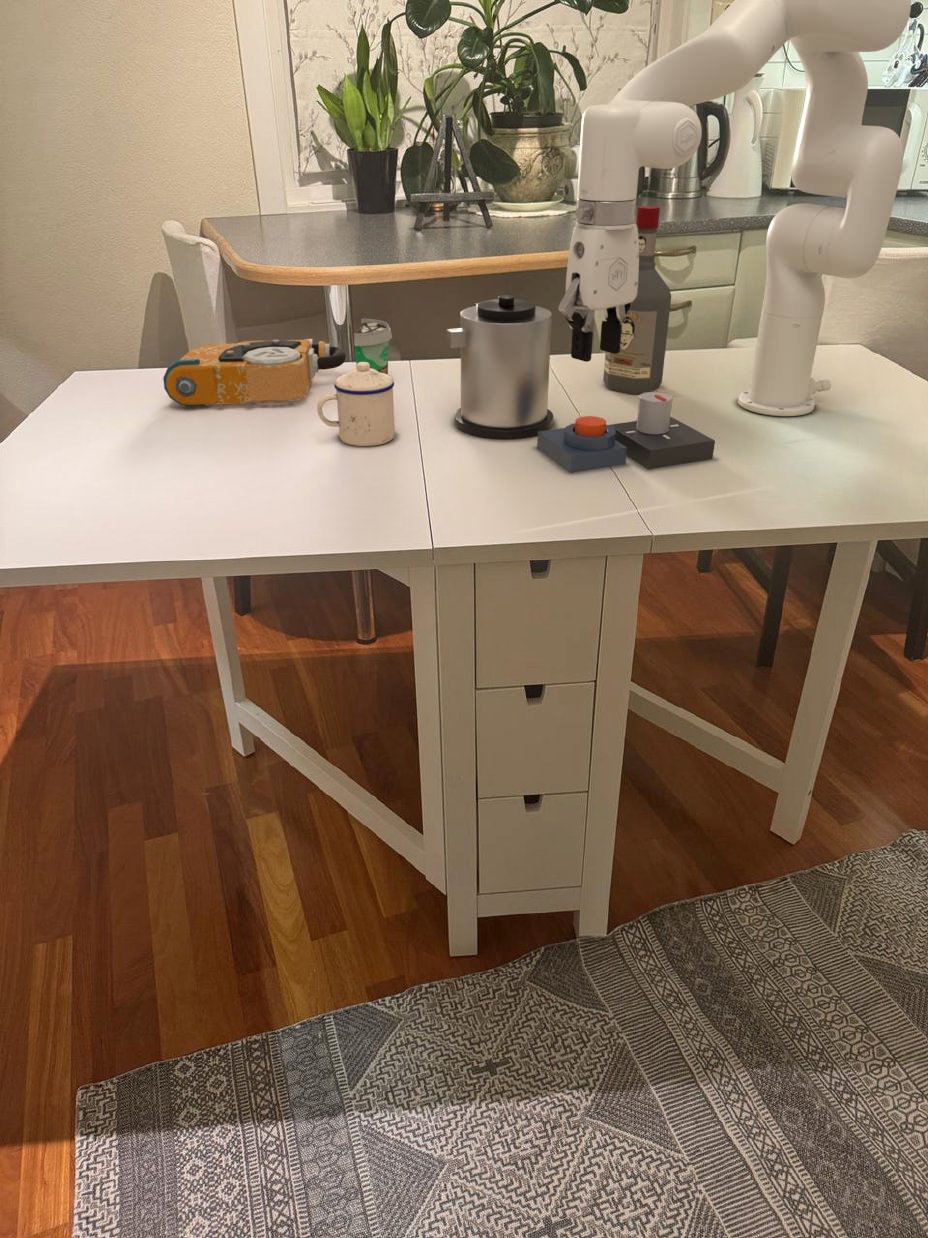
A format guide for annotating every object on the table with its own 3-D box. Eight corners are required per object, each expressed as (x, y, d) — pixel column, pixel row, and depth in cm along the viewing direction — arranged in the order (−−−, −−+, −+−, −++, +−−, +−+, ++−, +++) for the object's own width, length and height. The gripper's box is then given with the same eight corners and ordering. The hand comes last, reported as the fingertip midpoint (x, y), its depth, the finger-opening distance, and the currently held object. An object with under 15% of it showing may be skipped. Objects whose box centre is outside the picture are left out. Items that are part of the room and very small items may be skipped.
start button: (595, 425, 135) (596, 414, 134) (610, 435, 131) (611, 423, 131) (569, 429, 134) (570, 418, 133) (583, 439, 130) (584, 427, 129)
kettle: (518, 397, 160) (521, 279, 150) (570, 432, 145) (577, 302, 135) (425, 409, 155) (422, 287, 145) (468, 447, 139) (468, 312, 129)
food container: (391, 390, 164) (388, 334, 159) (357, 390, 164) (353, 334, 159) (396, 371, 175) (394, 317, 170) (364, 371, 175) (361, 317, 170)
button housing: (589, 440, 141) (591, 412, 139) (625, 464, 133) (628, 435, 130) (536, 448, 139) (538, 419, 136) (570, 473, 130) (572, 443, 128)
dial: (630, 426, 138) (633, 391, 135) (657, 422, 140) (661, 388, 137) (647, 436, 134) (650, 400, 132) (674, 432, 136) (679, 397, 133)
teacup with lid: (389, 425, 148) (385, 353, 142) (402, 444, 140) (399, 368, 134) (315, 433, 145) (308, 359, 139) (325, 452, 137) (318, 375, 131)
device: (183, 330, 169) (345, 326, 171) (190, 374, 173) (348, 370, 175) (156, 363, 150) (339, 358, 151) (165, 412, 154) (343, 407, 156)
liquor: (621, 376, 172) (636, 202, 156) (665, 384, 167) (685, 206, 152) (597, 388, 165) (611, 207, 150) (643, 396, 161) (662, 212, 145)
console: (668, 434, 144) (670, 414, 142) (712, 459, 134) (715, 439, 133) (606, 443, 141) (608, 423, 139) (648, 470, 131) (650, 449, 129)
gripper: (582, 223, 110) (573, 372, 120) (670, 210, 120) (655, 350, 129) (538, 217, 115) (533, 361, 124) (625, 205, 125) (614, 340, 134)
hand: (595, 354), depth 127 cm, fingers open, 5 cm apart
